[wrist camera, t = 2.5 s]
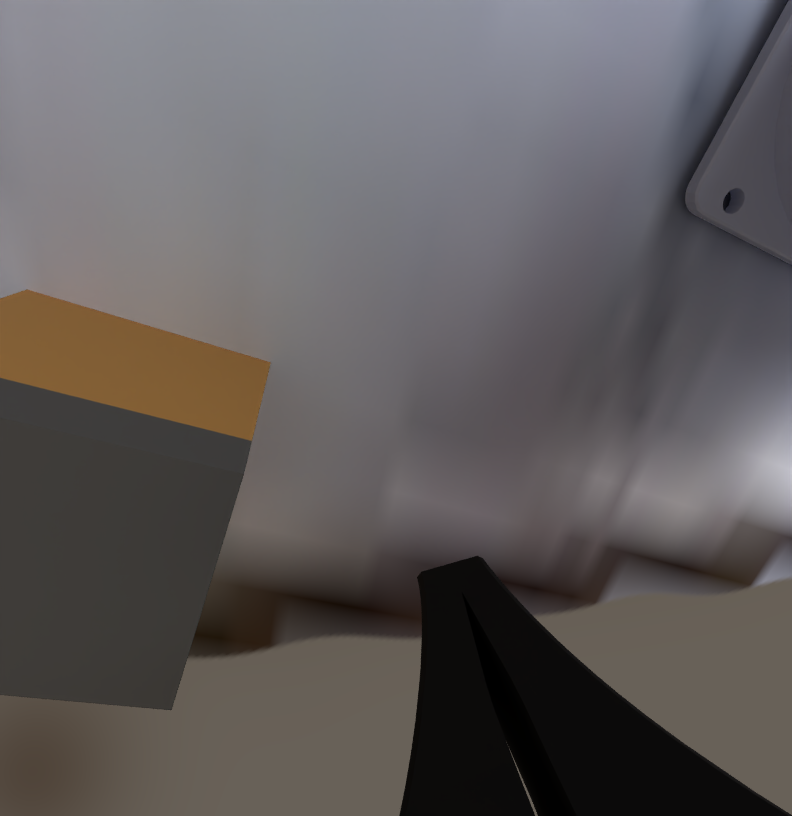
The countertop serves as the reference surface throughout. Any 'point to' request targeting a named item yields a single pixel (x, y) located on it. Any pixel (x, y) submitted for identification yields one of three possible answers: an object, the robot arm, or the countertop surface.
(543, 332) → the countertop surface
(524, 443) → the countertop surface
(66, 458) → the orange-topped grey cube
